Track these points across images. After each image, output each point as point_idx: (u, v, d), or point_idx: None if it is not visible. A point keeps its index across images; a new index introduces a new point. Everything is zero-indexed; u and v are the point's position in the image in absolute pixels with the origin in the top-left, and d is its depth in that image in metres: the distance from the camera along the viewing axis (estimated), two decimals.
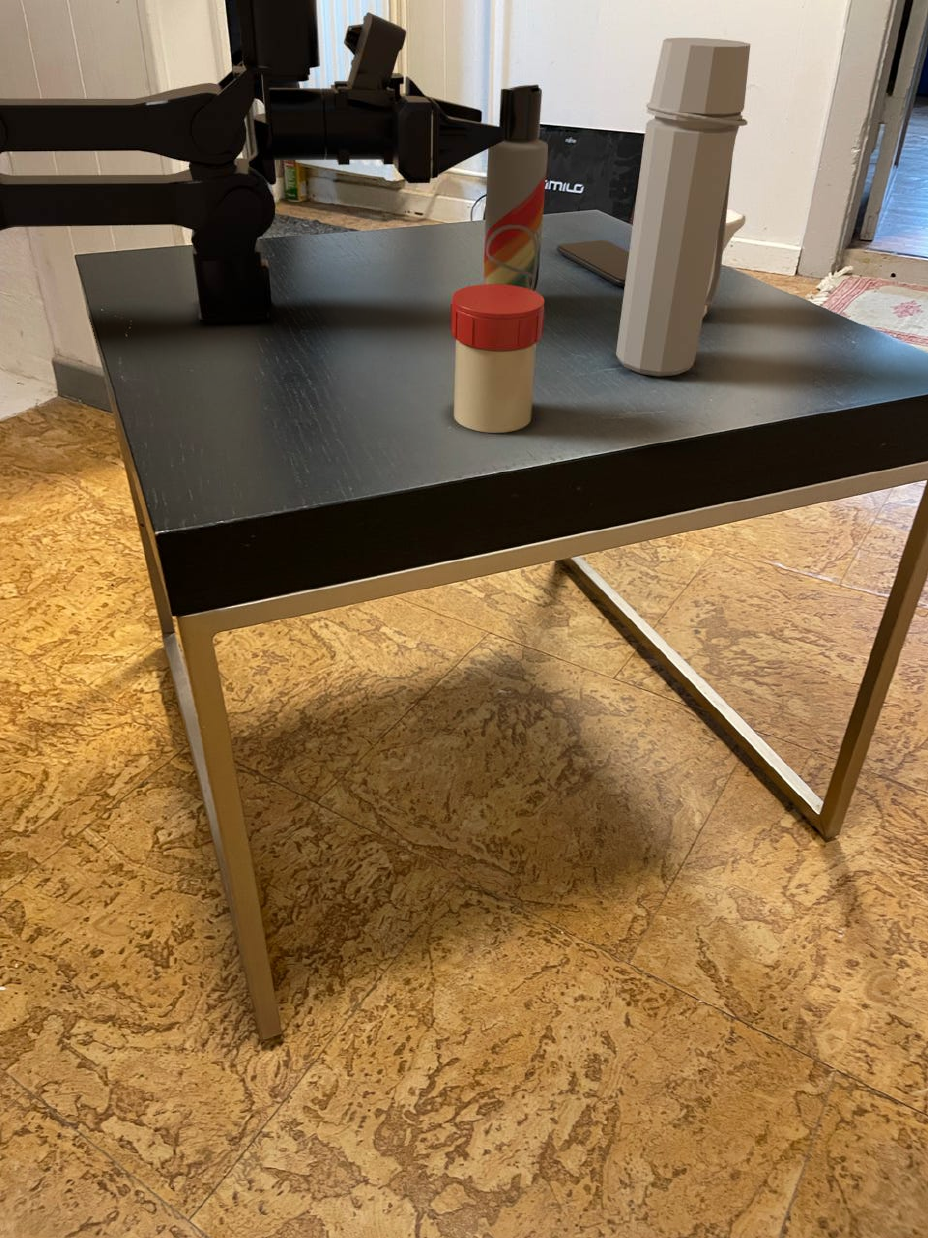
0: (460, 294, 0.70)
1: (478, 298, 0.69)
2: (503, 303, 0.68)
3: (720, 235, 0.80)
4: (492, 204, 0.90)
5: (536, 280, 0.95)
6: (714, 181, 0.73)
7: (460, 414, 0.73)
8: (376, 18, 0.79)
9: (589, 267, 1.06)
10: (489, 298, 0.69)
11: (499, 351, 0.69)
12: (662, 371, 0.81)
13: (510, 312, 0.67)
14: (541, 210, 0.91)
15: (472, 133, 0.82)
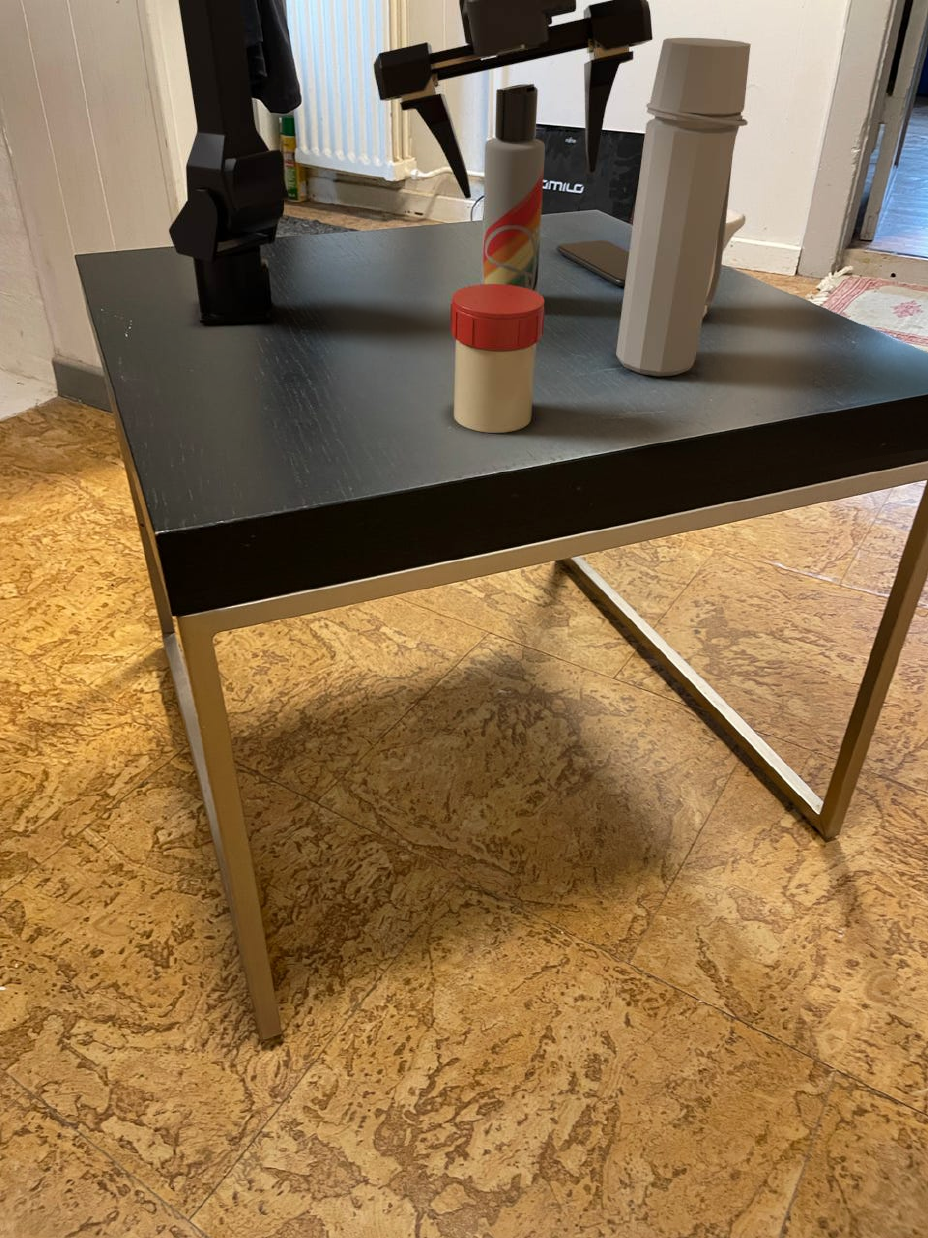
0: (460, 294, 0.70)
1: (478, 298, 0.69)
2: (503, 303, 0.68)
3: (720, 235, 0.80)
4: (490, 205, 0.90)
5: (535, 279, 0.95)
6: (714, 181, 0.73)
7: (460, 414, 0.73)
8: (476, 7, 0.57)
9: (589, 267, 1.06)
10: (489, 298, 0.69)
11: (499, 351, 0.69)
12: (662, 371, 0.81)
13: (510, 312, 0.67)
14: (539, 209, 0.91)
15: None
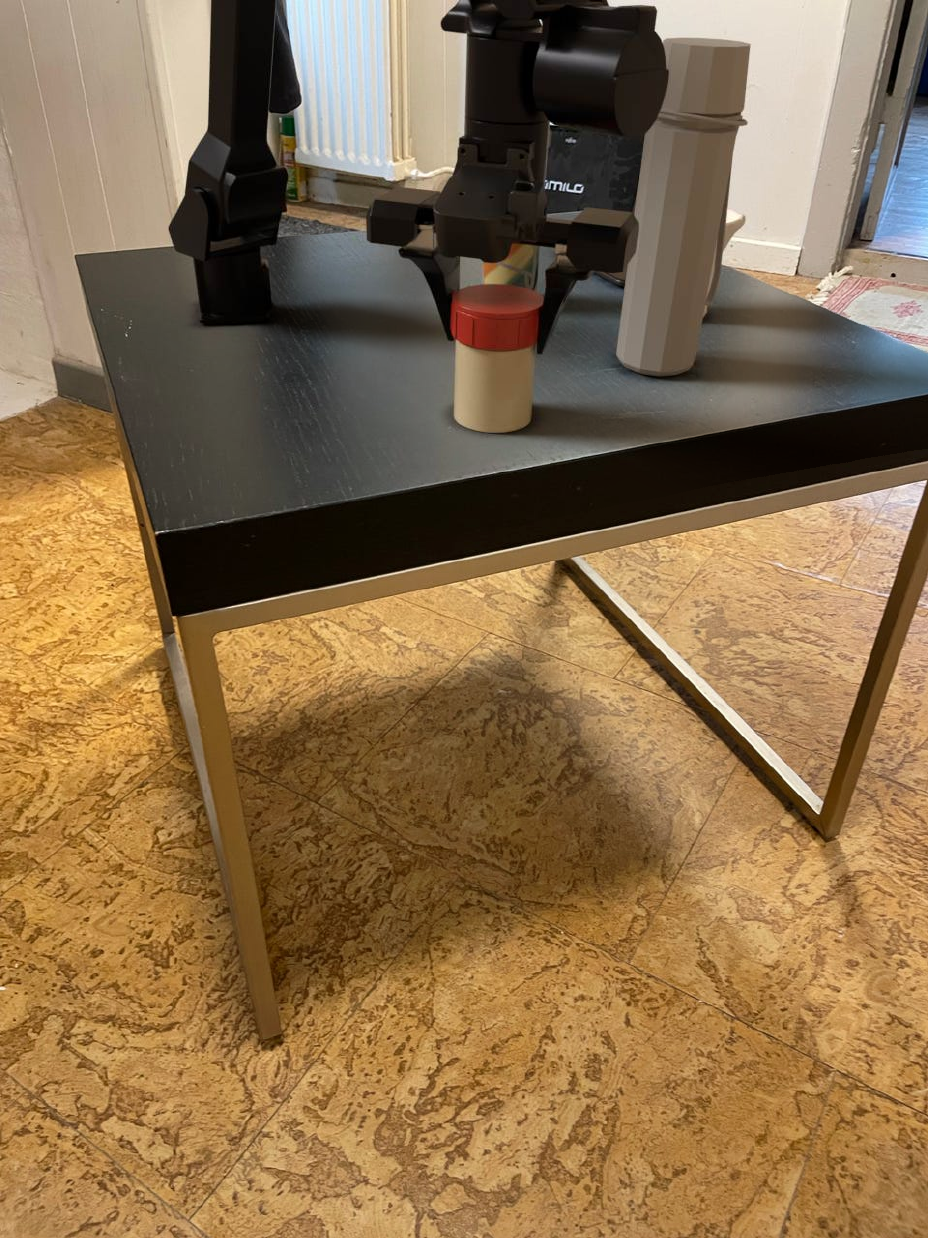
0: (460, 294, 0.70)
1: (478, 298, 0.69)
2: (503, 303, 0.68)
3: (720, 235, 0.80)
4: None
5: (535, 279, 0.95)
6: (714, 181, 0.73)
7: (460, 414, 0.73)
8: (438, 218, 0.59)
9: None
10: (489, 298, 0.69)
11: (499, 351, 0.69)
12: (662, 371, 0.81)
13: (510, 312, 0.67)
14: None
15: None
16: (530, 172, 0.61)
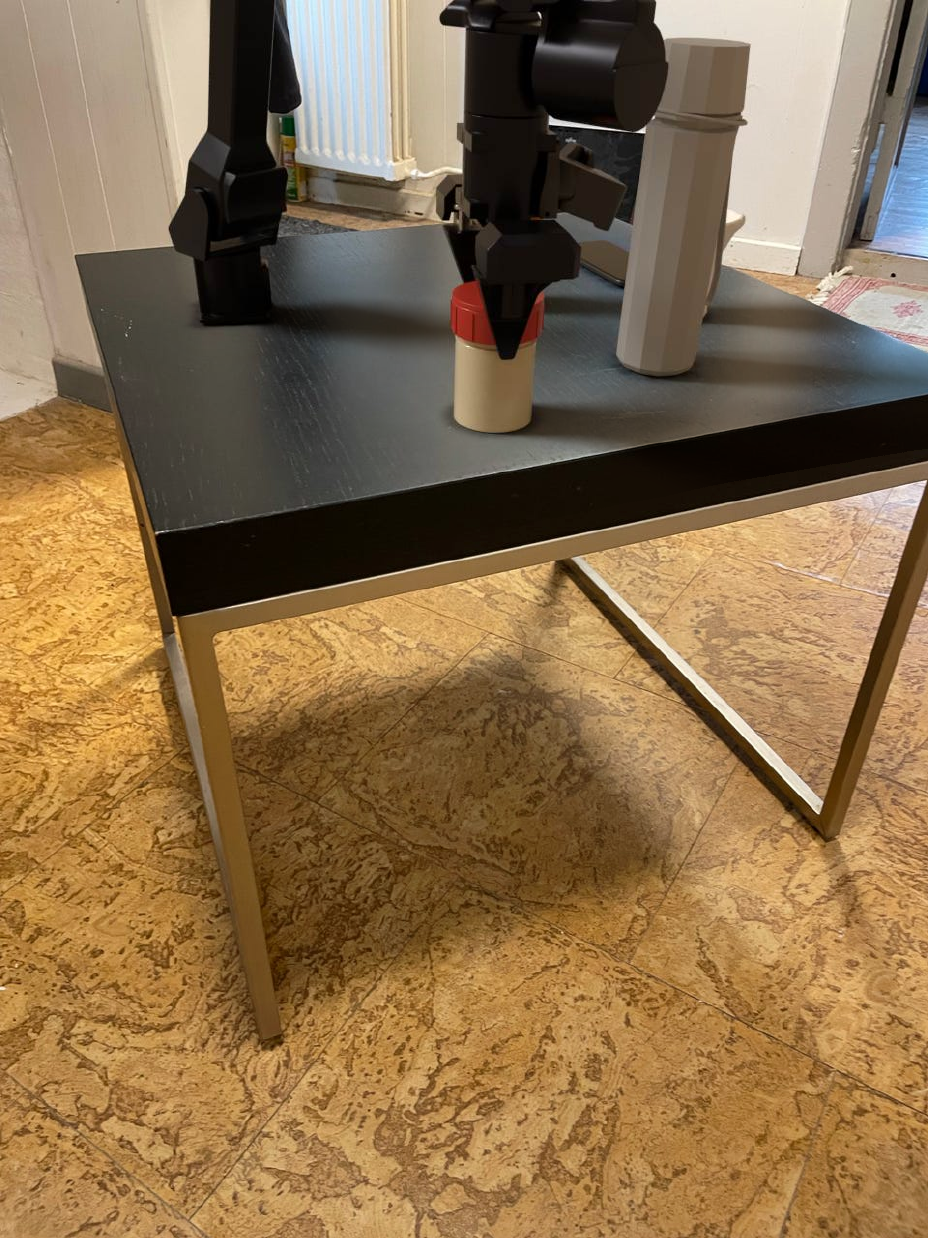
0: None
1: None
2: None
3: (720, 235, 0.80)
4: None
5: None
6: (714, 181, 0.73)
7: (460, 414, 0.73)
8: (625, 192, 0.65)
9: (589, 267, 1.06)
10: None
11: None
12: (662, 371, 0.81)
13: None
14: None
15: (516, 322, 0.66)
16: None
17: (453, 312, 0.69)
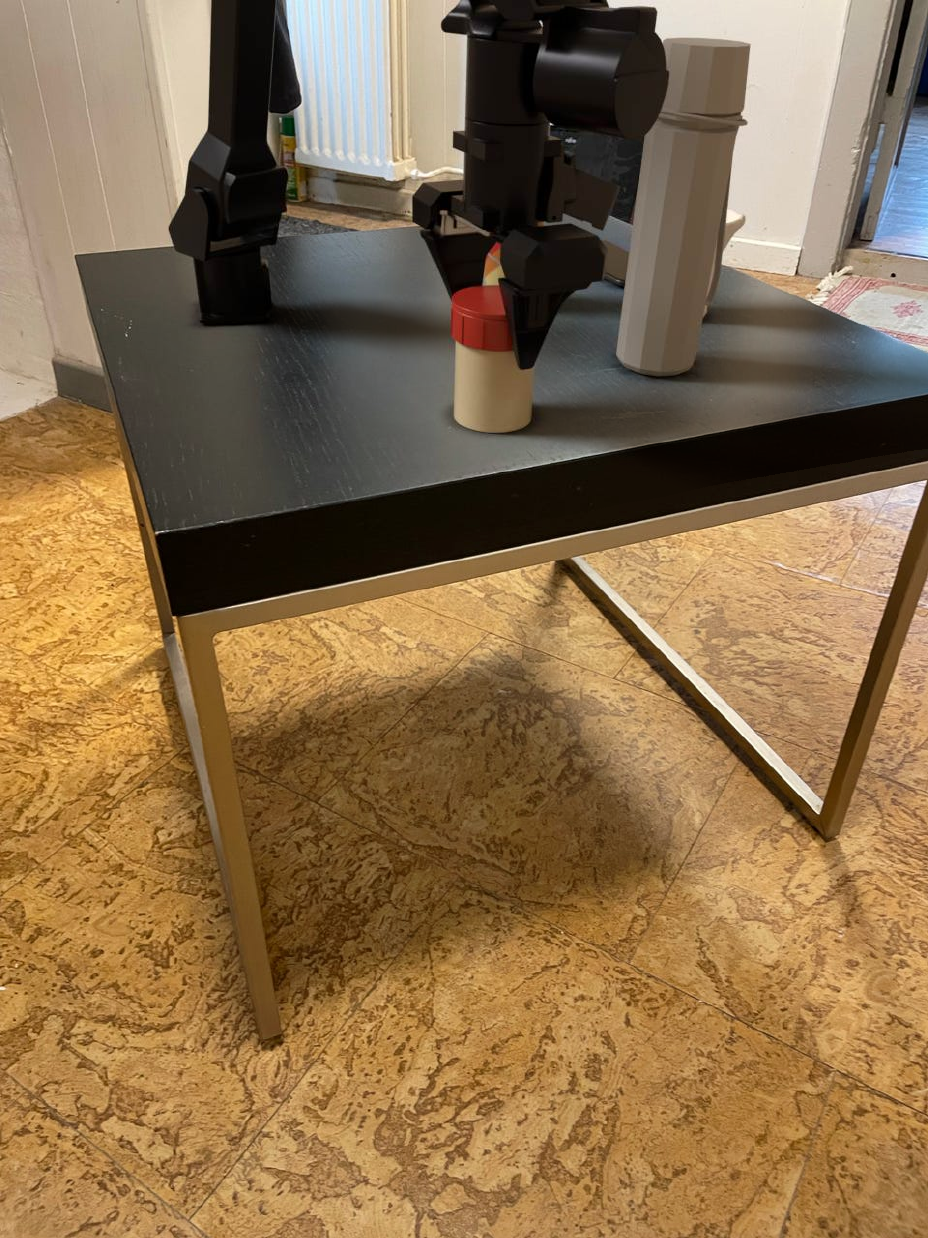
0: None
1: None
2: None
3: (720, 235, 0.80)
4: None
5: None
6: (714, 181, 0.73)
7: (460, 414, 0.73)
8: (617, 191, 0.67)
9: None
10: None
11: (499, 351, 0.69)
12: (662, 371, 0.81)
13: None
14: None
15: (539, 331, 0.66)
16: None
17: (457, 321, 0.69)
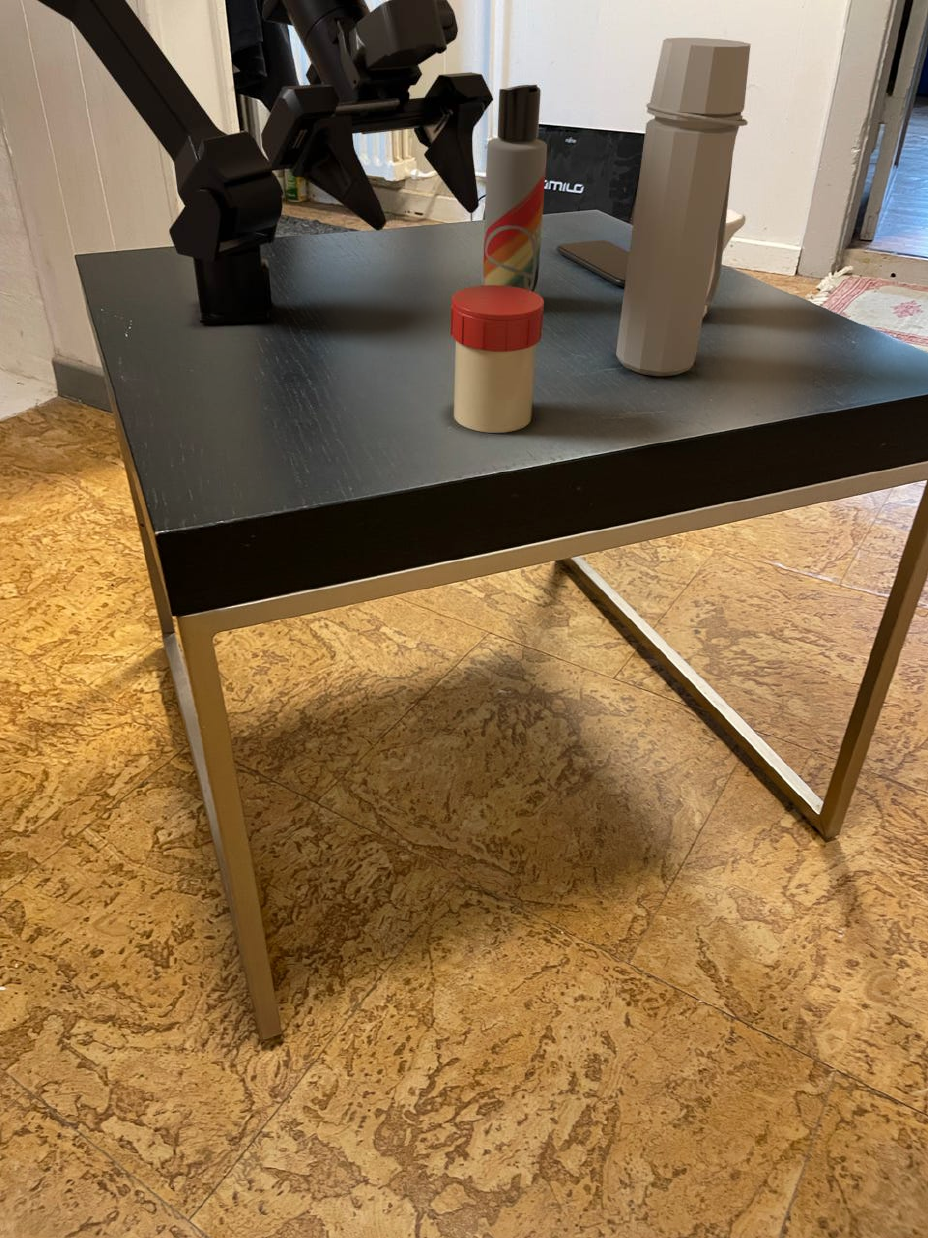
0: (520, 310, 0.67)
1: (514, 303, 0.69)
2: (505, 294, 0.70)
3: (720, 235, 0.80)
4: (490, 204, 0.90)
5: (535, 280, 0.95)
6: (714, 181, 0.73)
7: (460, 414, 0.73)
8: (394, 5, 0.64)
9: (589, 267, 1.06)
10: (505, 301, 0.69)
11: (499, 351, 0.69)
12: (662, 371, 0.81)
13: (518, 288, 0.72)
14: (540, 210, 0.91)
15: (352, 189, 0.68)
16: None
17: (457, 321, 0.69)
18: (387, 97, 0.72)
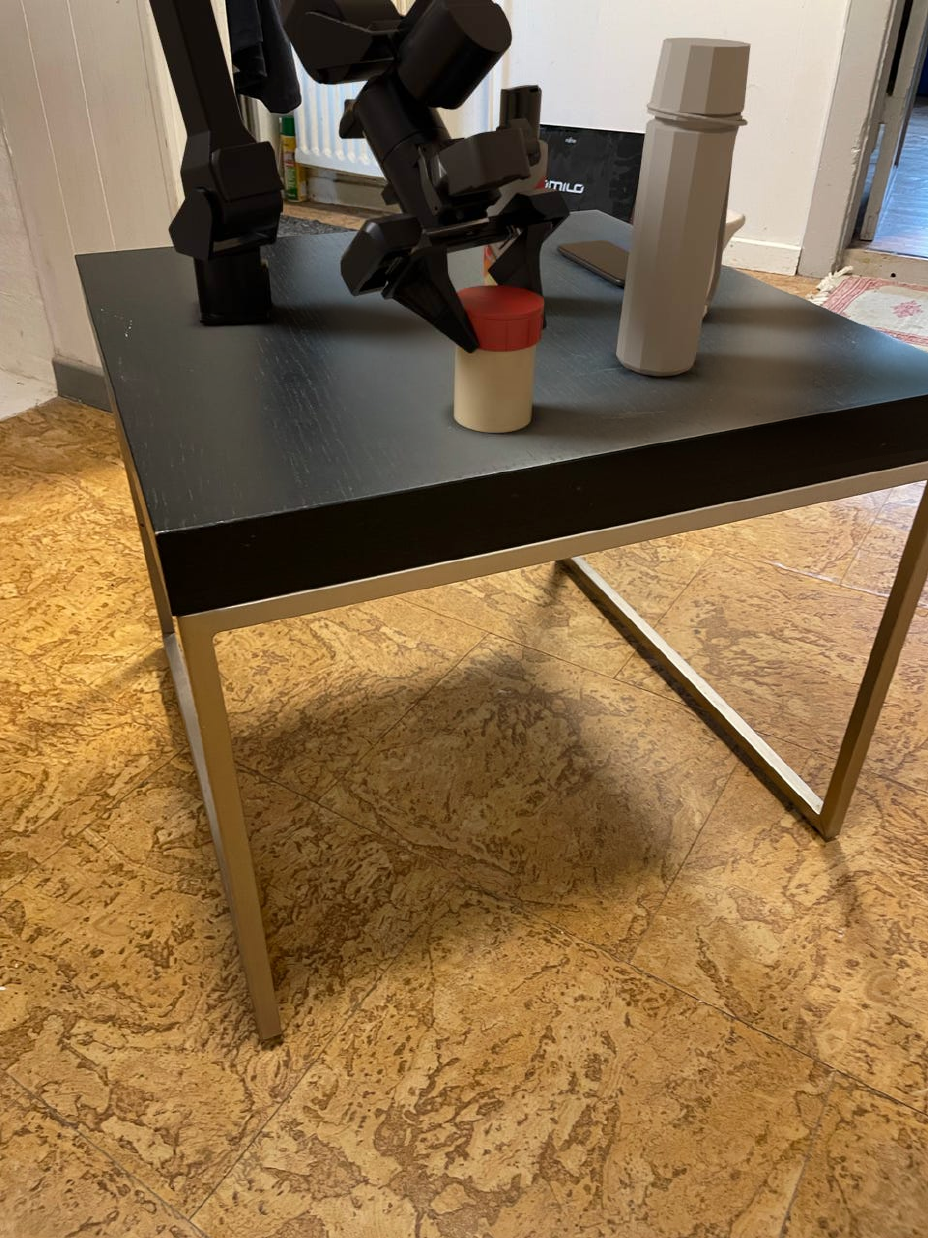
0: (520, 310, 0.67)
1: (514, 303, 0.69)
2: (505, 294, 0.70)
3: (720, 235, 0.80)
4: None
5: None
6: (714, 181, 0.73)
7: (460, 414, 0.73)
8: (482, 138, 0.62)
9: (589, 267, 1.06)
10: (505, 301, 0.69)
11: (499, 351, 0.69)
12: (662, 371, 0.81)
13: (518, 288, 0.72)
14: None
15: (446, 314, 0.67)
16: None
17: None
18: (464, 217, 0.70)
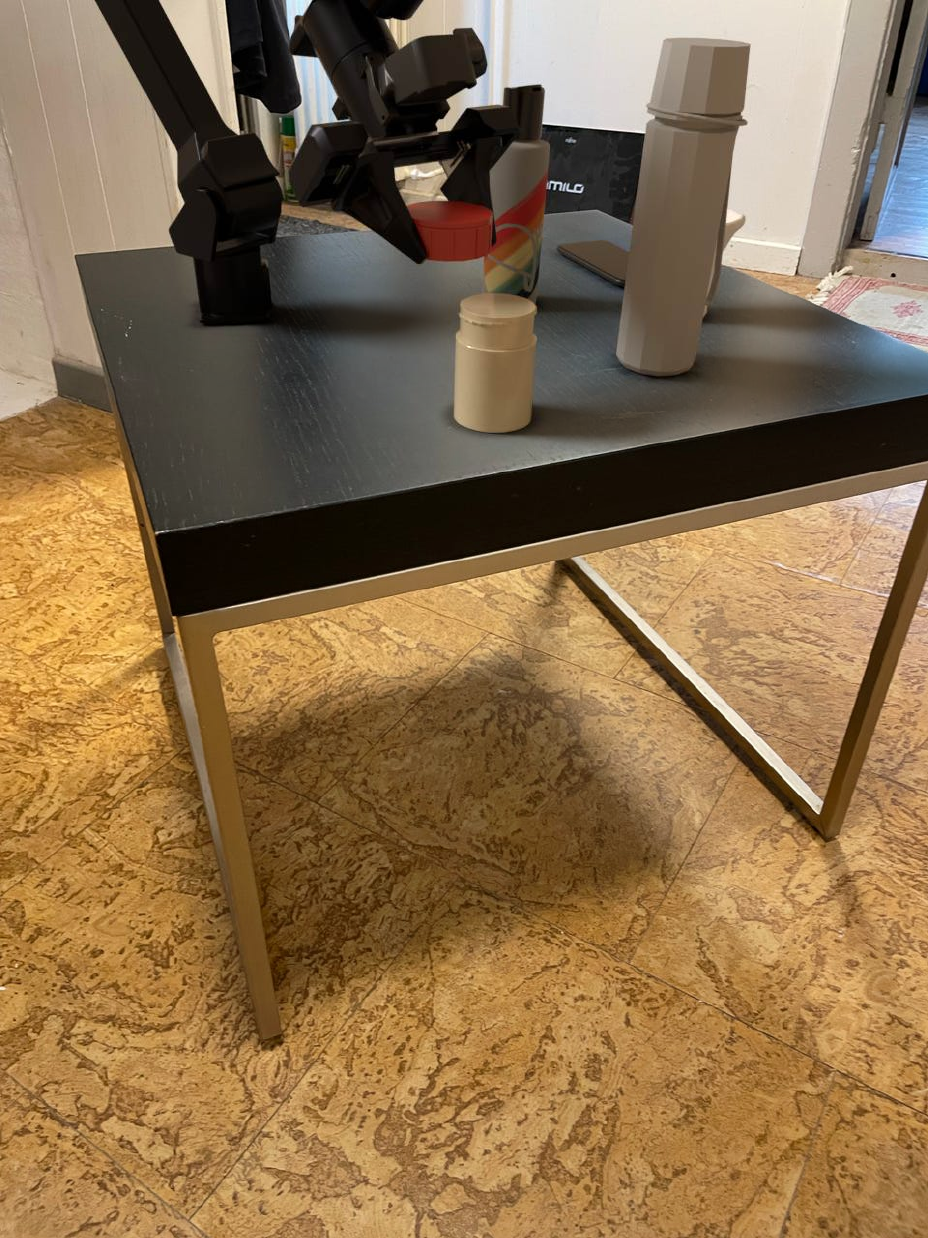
0: (468, 220, 0.68)
1: (462, 214, 0.69)
2: (455, 208, 0.71)
3: (720, 235, 0.80)
4: (492, 202, 0.90)
5: (535, 280, 0.95)
6: (714, 181, 0.73)
7: (460, 414, 0.73)
8: (425, 42, 0.63)
9: (589, 267, 1.06)
10: (454, 212, 0.70)
11: (499, 351, 0.69)
12: (662, 371, 0.81)
13: (468, 203, 0.72)
14: (541, 210, 0.91)
15: (394, 223, 0.68)
16: None
17: None
18: (414, 131, 0.71)
